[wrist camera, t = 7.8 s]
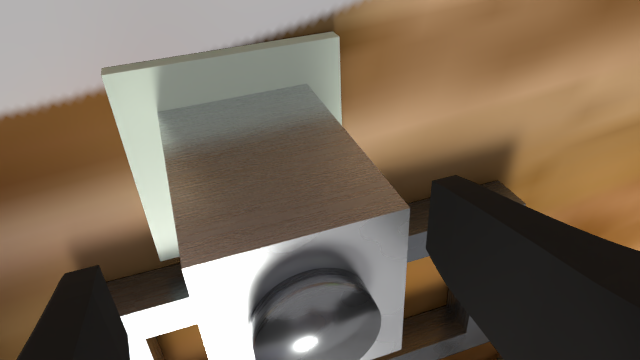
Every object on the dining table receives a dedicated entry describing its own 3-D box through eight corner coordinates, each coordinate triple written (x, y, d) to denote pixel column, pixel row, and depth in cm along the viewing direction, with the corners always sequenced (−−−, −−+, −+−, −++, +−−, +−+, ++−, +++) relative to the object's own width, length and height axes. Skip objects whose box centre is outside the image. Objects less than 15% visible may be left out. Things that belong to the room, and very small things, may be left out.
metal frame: (143, 423, 19) (145, 462, 18) (81, 288, 15) (78, 328, 14) (472, 313, 23) (493, 339, 22) (498, 180, 19) (525, 203, 18)
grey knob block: (189, 232, 15) (228, 438, 10) (157, 111, 12) (186, 295, 7) (315, 200, 16) (414, 371, 10) (307, 83, 13) (426, 228, 8)
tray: (159, 251, 15) (160, 261, 15) (101, 68, 12) (101, 75, 12) (338, 205, 17) (344, 214, 16) (332, 31, 13) (339, 36, 13)
